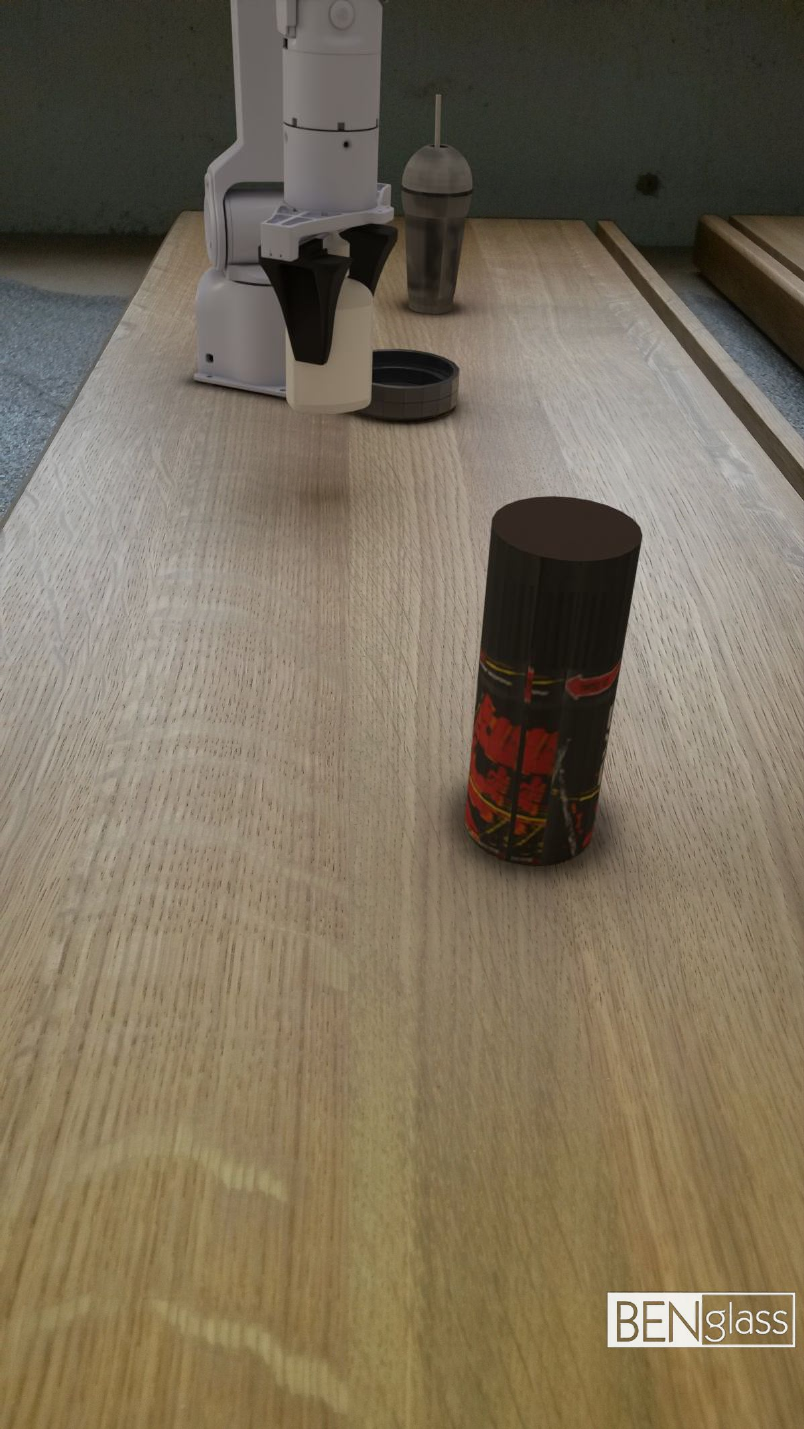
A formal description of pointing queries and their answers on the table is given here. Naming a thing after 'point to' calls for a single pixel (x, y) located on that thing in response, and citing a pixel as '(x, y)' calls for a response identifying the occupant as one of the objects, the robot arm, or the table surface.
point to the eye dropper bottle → (337, 353)
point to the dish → (411, 385)
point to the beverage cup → (434, 222)
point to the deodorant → (548, 674)
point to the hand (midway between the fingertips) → (329, 350)
